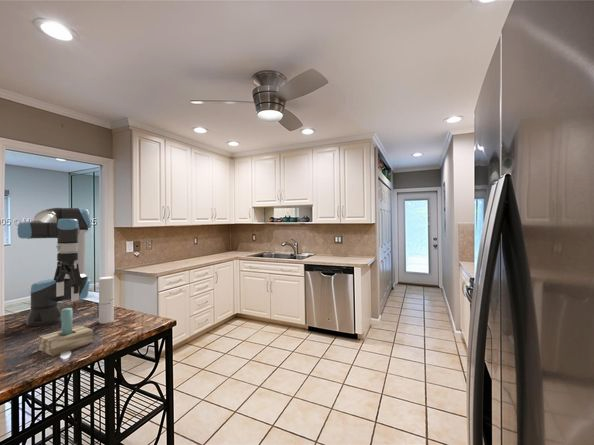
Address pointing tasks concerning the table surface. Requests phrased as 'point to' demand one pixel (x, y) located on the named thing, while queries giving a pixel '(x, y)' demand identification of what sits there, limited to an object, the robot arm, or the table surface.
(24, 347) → the table surface
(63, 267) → the robot arm
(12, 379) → the table surface
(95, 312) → the table surface
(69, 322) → the pin
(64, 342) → the block
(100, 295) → the cylindrical container
